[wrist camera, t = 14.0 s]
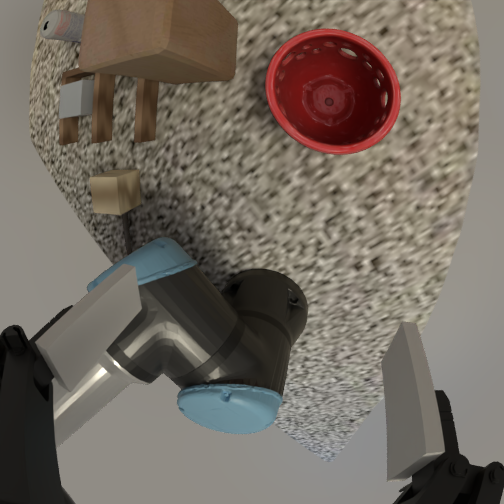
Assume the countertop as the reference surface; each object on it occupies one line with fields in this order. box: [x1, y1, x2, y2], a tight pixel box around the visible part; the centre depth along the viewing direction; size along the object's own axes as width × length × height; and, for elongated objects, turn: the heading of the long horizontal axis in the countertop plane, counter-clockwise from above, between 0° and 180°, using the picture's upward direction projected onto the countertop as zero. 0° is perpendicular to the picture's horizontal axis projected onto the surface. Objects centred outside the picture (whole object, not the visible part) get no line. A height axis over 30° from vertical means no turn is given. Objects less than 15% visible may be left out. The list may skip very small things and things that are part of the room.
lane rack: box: [59, 68, 159, 145], centre depth 36 cm, size 14×20×4 cm
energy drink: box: [40, 9, 85, 43], centre depth 27 cm, size 5×5×12 cm
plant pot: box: [265, 29, 401, 155], centre depth 27 cm, size 13×13×12 cm
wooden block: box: [78, 0, 238, 84], centre depth 23 cm, size 10×10×20 cm
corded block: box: [90, 170, 141, 255], centre depth 43 cm, size 20×6×11 cm, turn 177°
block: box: [59, 80, 94, 119], centre depth 36 cm, size 6×6×6 cm
